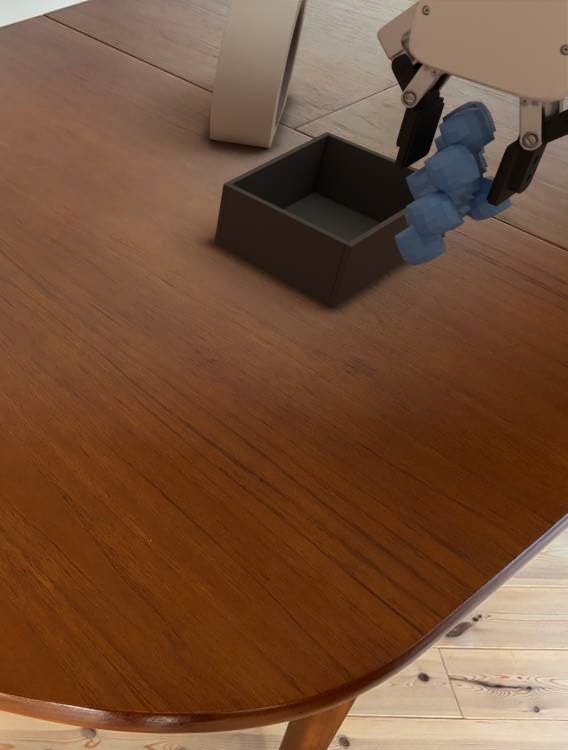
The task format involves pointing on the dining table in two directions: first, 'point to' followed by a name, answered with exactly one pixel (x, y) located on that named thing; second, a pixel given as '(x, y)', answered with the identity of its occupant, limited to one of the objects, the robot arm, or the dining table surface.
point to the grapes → (450, 184)
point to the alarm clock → (255, 69)
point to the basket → (319, 217)
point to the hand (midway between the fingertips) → (455, 176)
